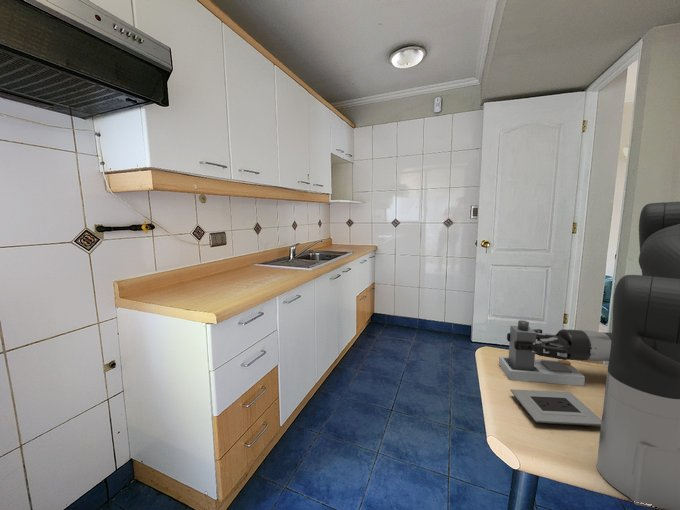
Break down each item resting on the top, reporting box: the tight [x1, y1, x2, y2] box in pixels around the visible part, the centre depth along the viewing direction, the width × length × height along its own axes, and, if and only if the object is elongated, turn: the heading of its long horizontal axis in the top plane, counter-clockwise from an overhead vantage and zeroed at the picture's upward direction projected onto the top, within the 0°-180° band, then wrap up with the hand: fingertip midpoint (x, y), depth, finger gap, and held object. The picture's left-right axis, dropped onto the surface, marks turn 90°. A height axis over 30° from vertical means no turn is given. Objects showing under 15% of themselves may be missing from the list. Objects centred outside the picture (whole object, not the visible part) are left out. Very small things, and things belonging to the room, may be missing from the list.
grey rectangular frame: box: [498, 355, 586, 387], centre depth 77 cm, size 8×17×3 cm, turn 79°
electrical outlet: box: [510, 388, 602, 427], centre depth 62 cm, size 13×10×2 cm
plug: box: [508, 319, 537, 371], centre depth 77 cm, size 4×4×13 cm
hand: (511, 341), depth 78 cm, fingers closed on plug, 4 cm apart
